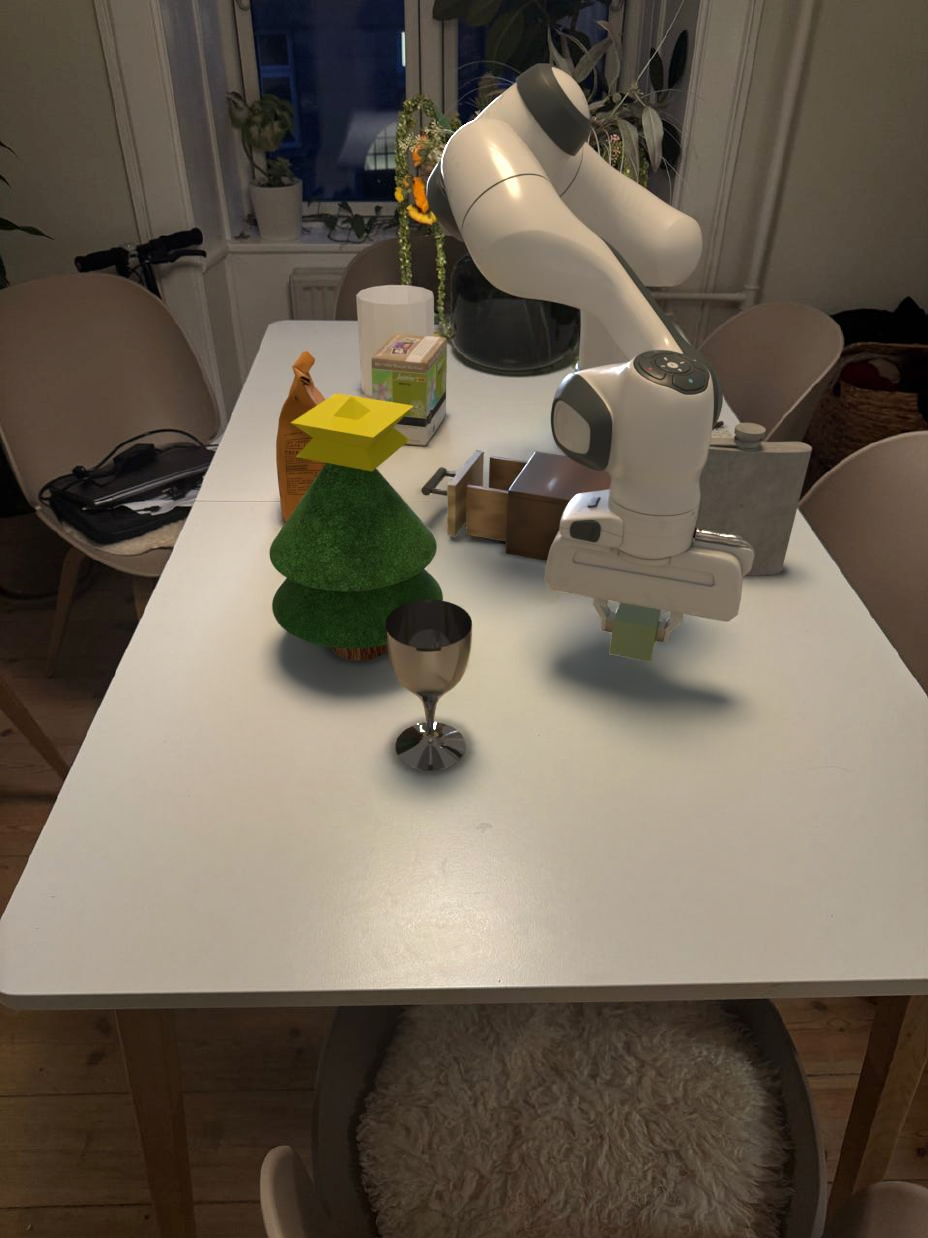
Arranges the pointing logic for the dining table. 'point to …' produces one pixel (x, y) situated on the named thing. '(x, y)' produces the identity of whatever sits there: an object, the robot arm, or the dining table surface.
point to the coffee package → (296, 438)
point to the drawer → (477, 495)
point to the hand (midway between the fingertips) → (634, 634)
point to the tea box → (413, 382)
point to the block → (634, 632)
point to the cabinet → (545, 501)
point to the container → (390, 320)
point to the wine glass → (429, 675)
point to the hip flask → (753, 492)
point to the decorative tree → (351, 534)
